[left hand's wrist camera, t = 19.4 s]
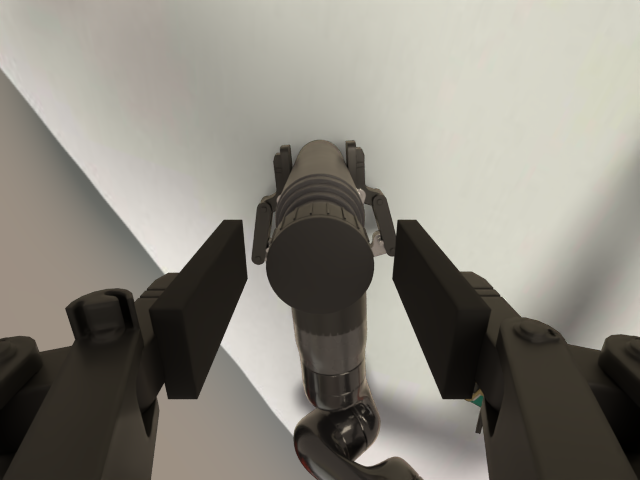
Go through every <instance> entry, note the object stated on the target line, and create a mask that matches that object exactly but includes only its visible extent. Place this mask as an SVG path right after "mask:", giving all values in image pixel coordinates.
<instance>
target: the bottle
mask: <svg viewBox="0 0 640 480" xmlns="http://www.w3.org/2000/svg"><path fill="white" fill-rule="evenodd" d="M310 203H313V204H315V203H324V204H326V203H329V204H331V205H335V206H338V207H341V208H342V207H344V209H345V210H346V211H348V212H349V213H351V214H352V215H353V216H356V217H357V220H358V221H359V222H360V224H361V226H362V227H363V228H364V221H365V212H364V206H363V203H362V200H361V198H360V195H359V193H358V191H357V189H356V186H355V184H354V182H353V180H352V177H351V175H350V173H349V170H348V168H347V166H346V164H345V161H344V159H343V157H342V154H341V152H340V151H339V149H338V148H337V147H336V146H335V145H334V144H332V143H331V142H328V141H325V140H315V141H312V142H309V143H308V144H306V145H305V146H304V147H303V148H302V149H301V151H300V152H299V155H298V157H297V159H296V161H295V164H294V166H293V168H292V171H291V173H290V175H289V177H288V180H287V182H286V184H285V187H284V189H283V191H282V193H281V196H280V198H279V200H278V203H277V207H276V213H275V218H276V229H277V228H278V226H279V224H280V223H281V221H282V219H283V217H284V216H285V217H286V216H287V215H288V214H290V213H291V212H292V211H294V210H295V208H300V207H302V206H305V205H309V204H310Z"/></svg>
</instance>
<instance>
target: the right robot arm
mask: <svg viewBox="0 0 640 480" xmlns="http://www.w3.org/2000/svg"><path fill="white" fill-rule="evenodd" d="M273 163H274V171H275V179H276V187H277V192H276V193H274V194H272V195H270V196H265V197H263V198H262V200H261V203H260V204H259V205H258V207H257V213H256V222H255V231H254V240H253V249H252V262H253V263H254V264H257V265H260V264H262V263H264V261H266V260H267V258H266V255H267V253H268V250H269V247H270V244H271V243H270V241H271V239H272V238H270V233H271V225H272V218H273V212H274V211H276V207H277V203H278V200H279V198H280V196H281V193H282V191H283V189H284V187H285V184H286V182H287V180H288V177H289V175H290V173H291V171H292V168H293V166H292V157H291V147H290V145H282V146H281V147H280V153H276V155H275V157H274V161H273ZM346 166H347V168H348V170H349V173H350V175H351V177H352V180H353V182H354V184H355V186H356V189H357V191H358V193H359V195H360V198H361V200H362V203H363V204H364V203H365V204H368V205H372V209H373V212H374V216H375V219H376V223H377V227H378V231H376V232H374V233H373V235H372V242H371V244H370V246H371V249H372V251H373V254H374V257H375V256H378V255H382V254H385V253H387V254H388V255H389V256H395V244H396V234H395V230H394V226H393V222H392V218H391V215H390V211H389V207H388V203H387V199H386V197H385V196H384V195H383V193H382V192H381V191H380V190H379V189H373V188H369V187H367V186H366V185H365V168H364V153H363V151H362V149H361V148H360V147H356V143H355V141H354V140H352V141H346ZM292 315H293V324H294V332H295V339H296V344H297V347H298V350H299V354H300V361H301V370H302V379H303V387H304V391H305V394H306V396H307V398H308V400H309V401H310V402H311V404H312V405H314V406H315V407H316V409H314V410H313V411H312V412H310V413H309V414H307V415H306V416H305V417H303V418H302V419H301V420H300V421H299V422H298V424H297V425H296V427H295V430H294V447H295V451H296V454H297V456H298V458H299V460H300V462H301V463H302V465H303V466H304V467H305V469H306V470H307V471H308V472H309V473H310V474H311V475H312V476H314V477H315V478H316V479H317V480H423V479H422V477H421V476H419V474H418V473H417V472H416V471H415V470H414V469H413V468H412V467H411V466H410V465H409V464H408V463H407V462H406V461H405V460H404V459H402V458H400V457H391V458H388V459H386V460H384V461H382V462H380V463H378V464H376V465H374V466H369V467H367V466H363V465H360V464H358V463H356V462H354V461H355V460H356V459H357V458H358V457H359V456H361V455H362V454H363V453H364V452H365V451H366V450H367V449H368V448H369V447H370V446H371V445H372V444H373V443H374V442H375V440H376V439H377V437H378V434H379V431H380V425H381V420H380V415H379V412H378V410H377V407H376V405H375V403H374V400H373V397H372V394H371V391H370V388H369V386H368V383H367V380H366V370H365V347H366V340H367V308H366V292H365V293H364V295H363V296H362V297H361V298H360V299H359V300H358V301H357V302H355V303H354V304H353V305H351V306H350V307H348V308H346V309H344V310H341V311H338V312H335V313H330V314H310V313H305V312H302V311H299V310H297V309H294V308H292Z"/></svg>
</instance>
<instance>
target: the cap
mask: <svg viewBox="0 0 640 480" xmlns="http://www.w3.org/2000/svg"><path fill="white" fill-rule="evenodd" d="M369 242H370V241H369V238H368V236H367V233H366V230H365V228H363V227H362V226H361V224H360V222H359V221H358V220H357V217H356V216H353V215H352V214H351V213H349V212H348V211H346V210H345V209H344V207H342V208H341V207H338V206H335V205H331V204H329V203H326V204H324V203H315V204H313V203H310V204H309V205H305V206H302V207H300V208H295V210H294V211H292V212H291V213H290V214H288V215H287V216H286V217H285V216H284V217H283V219H282V221H281V223H280V224H279V226H278V228H277V229H276V228H275V230H274V233H273V236H272V239H271V241H270V243H271V244H270V247H269V250H268V253H267V255H266V258H267V260H266V271H267V276H268V280H269V282H270V285H271V287H272V288H273V290H274V292H275V293H276V294H277V296H278V297H279V298H280V299H281V300H282V301H284V302H285V303H286V304H288V305H289V306H291V307H292V308H294V309H297V310H299V311H302V312H305V313H310V314H330V313H335V312H338V311H341V310H344V309H346V308H348V307H350V306H351V305H353V304H354V303H355V302H357V301H358V300H359V299H360V298H361V297H362V296H363V295H364V293H365V292H366V290H367V289H368V287H369V285H370V283H371V281H372V277H373V273H374V259H373V257H374V254H373V251H372V249H371V246H370V243H369Z"/></svg>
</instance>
